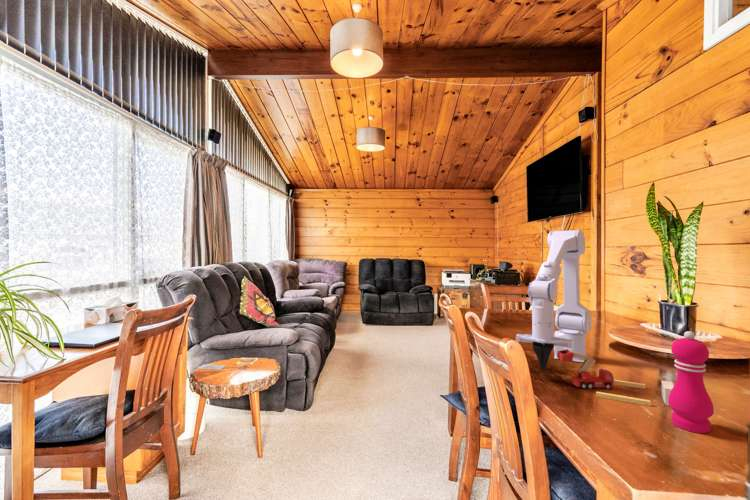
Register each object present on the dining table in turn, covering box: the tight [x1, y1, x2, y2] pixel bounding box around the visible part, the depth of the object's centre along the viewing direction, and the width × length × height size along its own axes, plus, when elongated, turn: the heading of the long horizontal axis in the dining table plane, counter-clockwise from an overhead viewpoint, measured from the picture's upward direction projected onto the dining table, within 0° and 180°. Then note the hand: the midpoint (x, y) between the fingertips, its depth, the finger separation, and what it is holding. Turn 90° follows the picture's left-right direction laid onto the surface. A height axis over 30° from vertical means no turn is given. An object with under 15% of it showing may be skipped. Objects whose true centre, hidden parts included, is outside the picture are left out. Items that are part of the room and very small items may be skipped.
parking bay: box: [595, 379, 675, 407], centre depth 93 cm, size 16×13×4 cm
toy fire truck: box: [557, 349, 615, 390], centre depth 98 cm, size 3×14×10 cm, turn 84°
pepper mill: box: [668, 330, 715, 434], centre depth 76 cm, size 7×7×20 cm
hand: (543, 369), depth 104 cm, fingers closed
